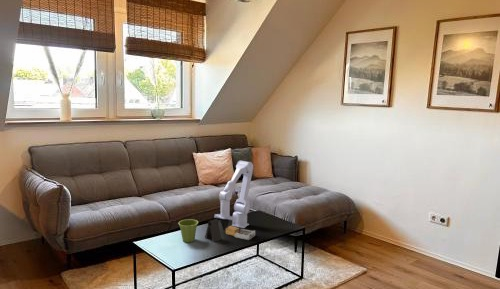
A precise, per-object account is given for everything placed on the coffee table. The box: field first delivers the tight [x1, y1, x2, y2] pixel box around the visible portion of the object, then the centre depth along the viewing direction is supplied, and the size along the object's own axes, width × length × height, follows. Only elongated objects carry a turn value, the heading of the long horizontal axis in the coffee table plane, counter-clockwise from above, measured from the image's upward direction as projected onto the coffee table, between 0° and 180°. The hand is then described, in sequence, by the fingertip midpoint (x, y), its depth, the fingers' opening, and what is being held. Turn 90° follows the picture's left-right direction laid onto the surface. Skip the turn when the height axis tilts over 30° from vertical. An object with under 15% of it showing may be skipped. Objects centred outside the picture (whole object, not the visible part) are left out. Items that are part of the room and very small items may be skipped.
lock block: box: [225, 225, 240, 237], centre depth 233 cm, size 7×5×4 cm
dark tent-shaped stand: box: [204, 218, 222, 243], centre depth 224 cm, size 9×6×12 cm, turn 46°
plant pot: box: [178, 218, 199, 243], centre depth 221 cm, size 12×12×11 cm
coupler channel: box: [234, 228, 256, 241], centre depth 230 cm, size 10×9×3 cm
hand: (224, 229), depth 236 cm, fingers closed
